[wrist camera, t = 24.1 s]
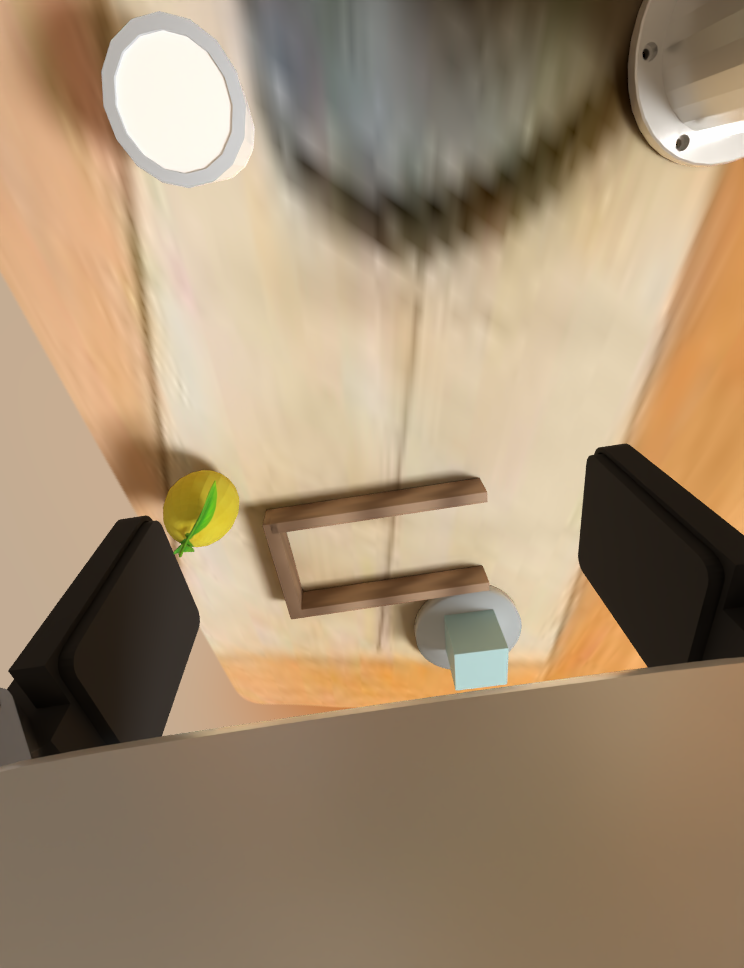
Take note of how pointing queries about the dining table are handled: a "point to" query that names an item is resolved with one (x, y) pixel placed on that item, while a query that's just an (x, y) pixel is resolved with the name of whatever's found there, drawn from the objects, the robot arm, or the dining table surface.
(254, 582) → the dining table surface
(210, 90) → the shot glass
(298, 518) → the frame
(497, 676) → the teal cube
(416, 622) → the grey round disc
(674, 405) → the dining table surface
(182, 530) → the lemon
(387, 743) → the robot arm
